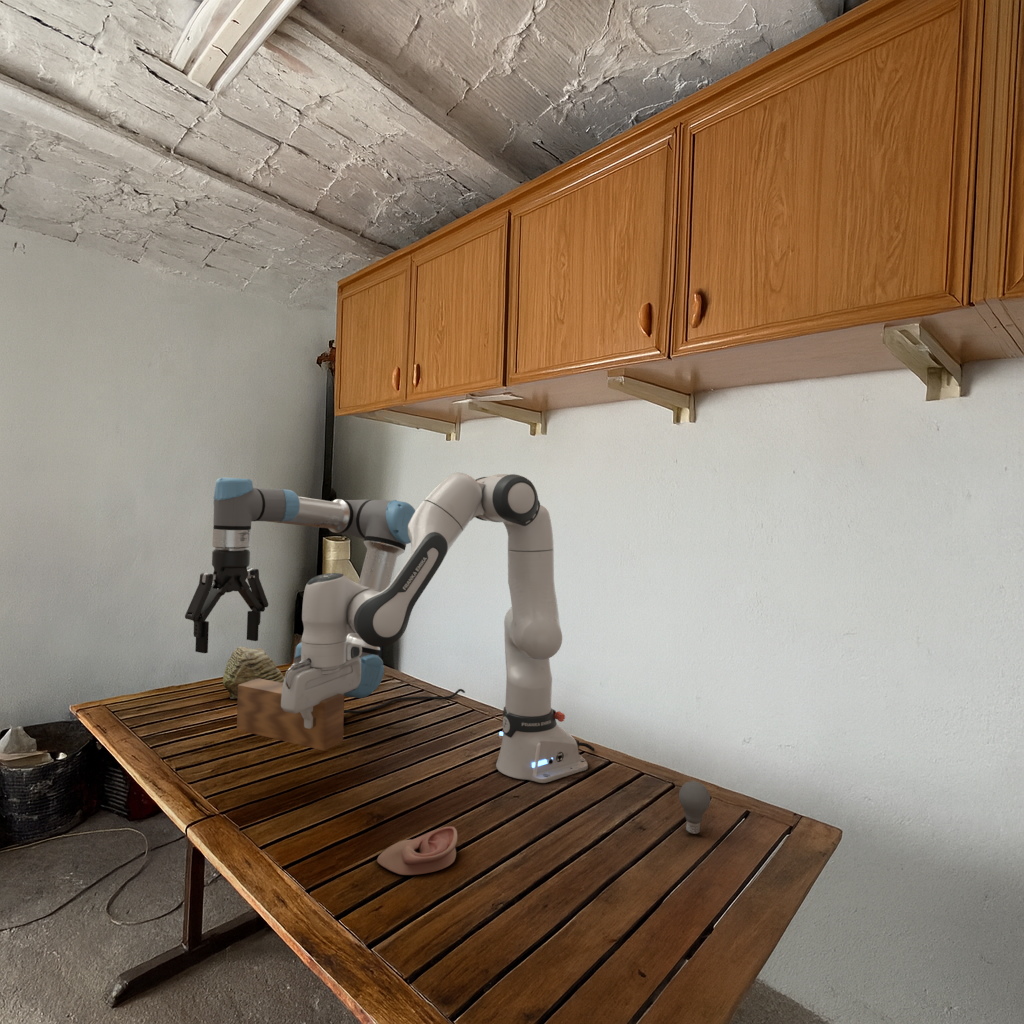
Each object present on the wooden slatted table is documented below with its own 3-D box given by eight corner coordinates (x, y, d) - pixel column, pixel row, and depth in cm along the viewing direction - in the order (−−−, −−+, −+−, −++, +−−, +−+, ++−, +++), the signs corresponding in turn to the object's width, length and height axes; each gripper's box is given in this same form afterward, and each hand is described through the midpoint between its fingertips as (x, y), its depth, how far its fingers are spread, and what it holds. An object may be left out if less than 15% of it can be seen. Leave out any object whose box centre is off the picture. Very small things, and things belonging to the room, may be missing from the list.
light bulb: (673, 824, 128) (675, 775, 128) (701, 824, 129) (704, 775, 129) (683, 840, 122) (685, 789, 122) (713, 840, 123) (716, 789, 123)
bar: (236, 729, 134) (237, 684, 134) (257, 721, 139) (258, 678, 139) (324, 750, 125) (325, 702, 124) (343, 741, 130) (344, 694, 130)
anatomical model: (370, 846, 108) (395, 814, 119) (369, 869, 108) (395, 835, 119) (444, 859, 105) (463, 825, 117) (443, 882, 106) (462, 846, 117)
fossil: (218, 695, 195) (220, 647, 195) (278, 685, 208) (279, 640, 207) (228, 703, 189) (230, 653, 188) (289, 692, 201) (290, 645, 201)
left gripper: (194, 553, 125) (190, 660, 125) (286, 547, 148) (283, 637, 148) (167, 550, 128) (164, 655, 128) (262, 544, 151) (258, 633, 151)
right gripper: (299, 668, 117) (297, 741, 118) (367, 645, 136) (365, 709, 137) (273, 663, 120) (272, 735, 120) (343, 642, 139) (341, 704, 139)
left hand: (228, 646), depth 138 cm, fingers open, 13 cm apart
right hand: (322, 721), depth 129 cm, fingers closed on bar, 6 cm apart
